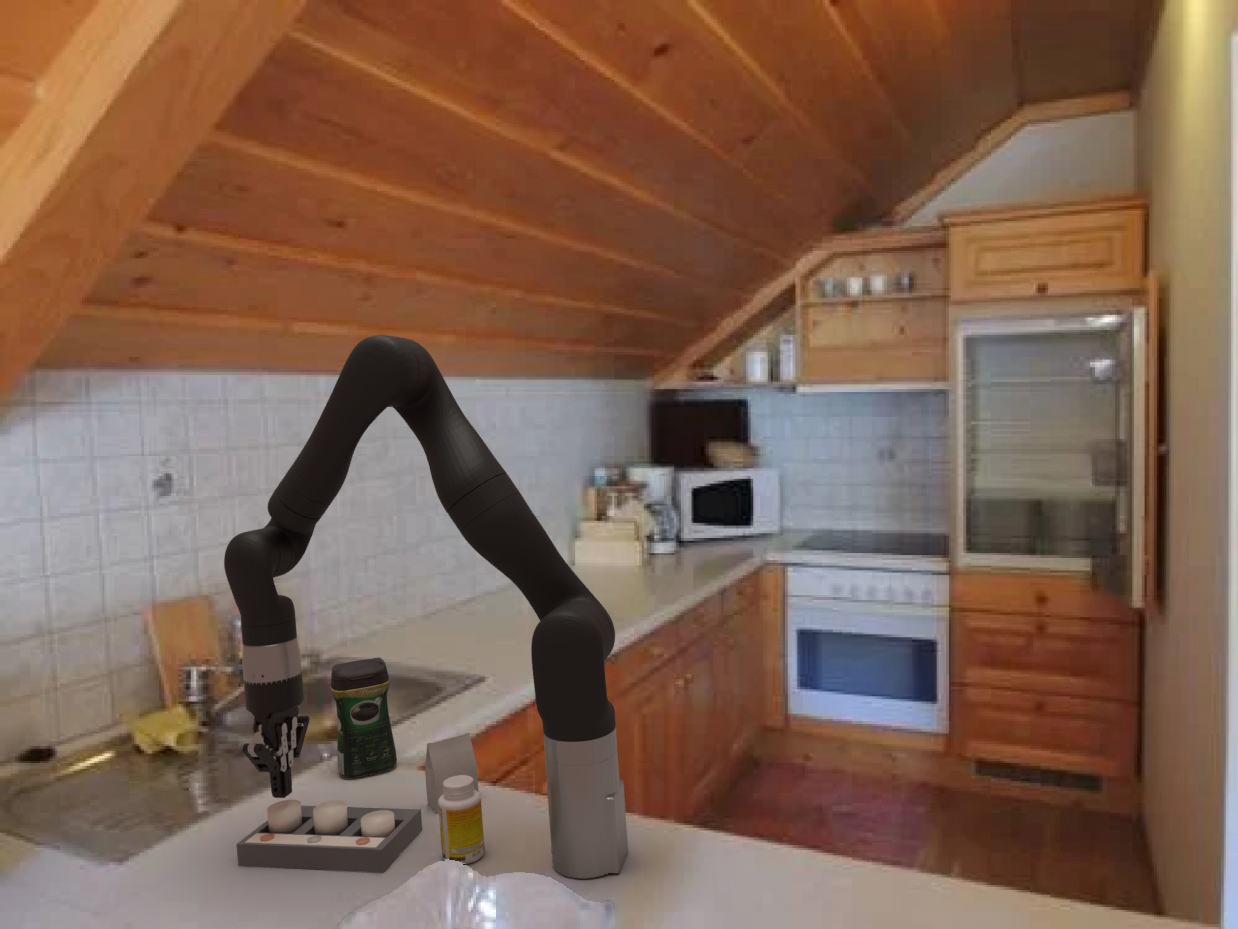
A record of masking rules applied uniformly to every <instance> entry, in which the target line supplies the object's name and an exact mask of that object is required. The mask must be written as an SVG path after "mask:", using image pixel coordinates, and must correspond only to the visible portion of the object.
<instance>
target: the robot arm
mask: <svg viewBox="0 0 1238 929" xmlns="http://www.w3.org/2000/svg"><path fill="white" fill-rule="evenodd" d="M387 408H393V409H394V410H395V411H396V412H397V413H398V414H399V416H400V417H401V418H402V419H403V421H404V422H405V423H406V425H407V426H408V427H409V429H410V430H411V431H412V432H413V434H414V436H415V437H416V439H417V440H418V441H419V443H420V445H421V447H422V449H423V451H424V454H425V457H426V460H427V463H428V467H429V471H430V475H431V480H432V483H433V486H434V490H435V492H436V495H437V497H438V500H439V502H440V503H441V505H442V507H443V508H444V511H445V512H446V514H447V515H448V516H449V518H450V519H451V521H452V523H453V524H454V525H455V527H456V528H457V530H458V531H459V532H460V534H461V536H462V537H463V538H464V540H465V541H466V542H467V544H469V546H470V548H473V550H475V552H477V553H478V554H479V555H480V556H481V557H482V558H483V559H484V560H485V561H487V563H489V564H490V565H492V566H493V567H494V568H495V569H497V570H498V571H499V572H500V573H502V575H504V576H505V577H506V578H507V579H508V580H510V581H511V583H513V584H514V586H516V587H517V588H518V590H519V591H520V592H521V593H522V595H524V597H525V599H526V600H527V601H528V603H529V605H530V607H531V608H532V609H533V611H534V614H535V615H536V616H537V618H538V620H539V622H538V623H537V625H536V626H535V628H534V630H533V633H532V637H531V647H530V650H531V652H530V653H531V668H532V678H533V685H534V686H533V688H534V696H535V705H536V709H537V712H538V716H540V719H541V721H542V722H541V723H542V731H543V744H544V748H543V749H544V762H545V777H546V790H547V804H548V817H549V818H548V820H549V833H550V834H549V835H550V846H551V847H550V850H551V852H550V853H551V858H552V867H553V869H554V870H555V871H556V872H557V873H558V874H561V875H562V876H564V877H568V878H573V879H593V878H599V877H603V876H605V874H606V875H609V874H608V873H614V874H615V873H618V874H619V873H620V872H619V871H621V870H622V867H623V864H624V862H625V860H624V859H626V857H627V855H626V854H628V852H629V846H628V829H627V818H626V817H627V814H626V801H625V799H626V798H625V784H624V780H623V779H620V771H619V770H620V769H619V758H618V745H617V744H618V741H617V740H618V739H617V725H616V724H617V723H616V712H615V711H616V710H615V706H614V705H613V704H612V702H610V701H609V698H608V691H607V682H606V668H605V661H606V660H607V659H608V657H609V656H610V655H611V654H612V652H613V649H614V646H615V642H616V630H615V626H614V622H613V620H612V618H611V615H610V614H609V612H608V611H607V610H606V608H605V607H604V605H603V604H602V602H600V601H599V600H598V599H597V597H596V596H595V595H594V594H593V592H591V590H590V589H589V588H588V587H587V586H586V584H585V583H584V582H583V581H582V580H581V578H580V577H579V576H578V575H577V574H576V573H575V572H574V570H572V568H571V567H570V566H569V564H568V563H567V561H565V559H564V558H563V556H562V555H561V553H560V552H559V550H558V549H557V547H556V545H555V544H554V542H553V541H552V539H551V538H550V536H549V535H548V533H547V532H546V530H545V528H544V527H543V525H542V523H541V522H540V521H539V519H538V517H536V515H535V513H534V512H533V510H531V508H530V506H529V504H528V503H527V501H526V500H525V498H524V496H523V495H522V493H521V492H520V490H519V489H518V487H517V486H516V485H515V483H514V481H513V480H512V479H511V477H510V475H509V474H507V472H506V470H505V469H504V467H503V466H502V464H500V462H499V461H498V460H497V458H496V457H495V456H494V454H493V453H492V451H491V449H490V448H489V447H488V445H487V444H486V443H485V441H484V440H483V438H482V437H481V436H480V434H479V433H478V432H477V430H476V429H475V427H474V426H473V425H472V424H471V422H470V421H469V420H468V418H467V417H466V416H465V414H464V412H463V411H462V409H461V407H460V406H459V404H458V402H457V400H456V399H455V397H454V395H453V393H452V391H451V390H450V388H449V386H448V384H447V381H446V380H445V379H444V377H443V375H442V372H441V371H440V369H439V367H438V365H437V363H436V361H435V360H434V358H433V357H432V356H431V354H430V353H429V351H428V350H427V349H426V348H425V347H424V346H422V345H421V344H420V343H418V342H417V341H415V340H413V339H411V338H410V339H409V338H406V337H400V336H395V335H394V336H393V335H388V334H387V335H386V334H374V335H371V336H367V337H364V339H362V340H360V341H359V342H358V343H357V344H356V345H355V346H354V347H353V349H352V350H351V352H350V354H349V355H348V358H346V361H345V363H344V365H343V368H341V371H340V373H339V376H338V377H337V380H336V383H335V384H334V387H333V389H332V391H331V393H330V396H329V398H328V400H327V401H326V404H325V406H324V408H323V410H322V412H321V414H320V416H319V418H318V421H317V423H315V426H314V428H313V431H312V432H311V433H310V436H309V437H308V439H307V441H306V443H305V444H304V446H303V448H302V450H301V451H300V453H299V454H298V456H297V457H296V458H295V459H294V462H293V463H292V465H291V466H290V467H289V469H288V470H287V472H286V473H285V475H284V476H283V478H282V479H281V481H280V482H279V483H278V485H277V486H276V488H275V489H274V491H273V492H272V494H271V496H269V497H270V498H269V500H268V502H267V511H268V512H267V513H268V515H269V516H270V517H271V518H270V520H269V521H268V523H267V524H266V525H265V526H264V527H263V528H259V529H253V530H247V531H243V532H241V533H238V534H236V535H235V536H233V537H232V539H231V540H230V541H229V542H228V543H227V546H226V549H225V552H224V556H223V557H224V558H223V559H224V560H223V565H224V573H225V576H226V580H227V582H228V585H229V588H230V590H231V593H232V597H233V600H234V601H235V602H234V603H235V605H236V607H237V609H238V612H239V615H240V626H241V627H240V629H241V639H242V640H241V642H242V656H241V658H242V659H241V662H242V663H241V664H242V666H241V667H242V676H243V677H242V678H243V688H244V703H245V709H246V711H248V712H249V713H251V715H253V725H252V731H253V732H252V733H253V737H252V739H251V741H250V743H244V744H243V745H242V752H243V754H244V755H245V756H246V757H247V758H248V760H249V761H250V762H251V763H252V765H253V766H254V768H255V769H257V771H258V772H260V773H268V774H269V778H270V792H271V795H272V797H273V798H275V799H285V798H286V797H287V796H290V794H292V793H293V779H292V767H293V766H294V761H295V760H294V759H295V758H297V759H298V758H300V756H301V752H302V750H303V744H304V741H305V738H306V735H307V732H308V727H309V723H310V716H309V715H302V714H300V710H299V706H300V705H301V704H302V703H303V702H304V698H305V696H304V686H303V685H304V684H303V670H302V660H301V658H302V657H301V651H300V645H299V641H298V633H297V631H298V630H297V619H296V609H295V605H294V601H293V600H292V598H290V597H289V596H286V595H281V594H279V593H278V591H277V587H276V584H275V581H274V578H278V577H281V576H284V575H286V574H288V573H289V572H291V571H292V570H293V569H294V568H295V567H296V566H297V565H298V564H299V562H300V561H301V560H302V558H303V557H304V556H305V553H306V551H307V549H308V546H309V544H310V541H311V539H312V537H313V534H314V532H315V527H316V525H317V523H318V522H319V521H320V519H322V517H323V516H324V514H325V513H326V512H327V510H328V508H329V507H330V505H331V504H332V503H333V501H334V500H335V499H336V497H337V496H338V494H339V492H340V491H341V489H342V487H343V485H344V484H345V480H346V479H347V476H348V473H349V469H350V467H351V464H352V459H353V457H354V454H355V451H356V448H357V446H358V444H359V442H360V440H361V438H363V436H364V434H365V432H366V431H367V430H368V428H369V427H370V426H371V425H372V423H373V422H374V421H375V420H376V419H377V418H378V417H379V416H380V415H382V413H384V411H386V409H387ZM615 875H616V874H615Z"/></svg>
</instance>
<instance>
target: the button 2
mask: <svg viewBox="0 0 1238 929" xmlns="http://www.w3.org/2000/svg"><path fill="white" fill-rule="evenodd" d="M394 830H395V819H394V813H393V812H392V811H389V810H378V811H373V812H370V813H368V814H366V815H364V816H363V817H362V818H361V831H362V836H364V837H388V836H389V835H390V834H391V833H392V832H393V831H394Z"/></svg>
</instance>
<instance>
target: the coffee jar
mask: <svg viewBox="0 0 1238 929" xmlns="http://www.w3.org/2000/svg"><path fill="white" fill-rule="evenodd" d="M330 676H331V678H330V693H331V695H332V698H333V700H334V702H335V708H336V718H337V723H336V724H337V741H336V742H337V747H336V748H337V749H336V751H337V754H336V755H337V759H336V760H337V770H338V773H339V774H340V776H342V777H344V778H348V779H354V778H355V779H356V778H361V777H366V775H367V776H371V775H370V774H372V775H375V773H376V774H379V773H382V772H386V771H389V770H391V769H393V767H395V766H396V764H397V762H398V759H397V750H396V744H395V739H394V734H393V730H392V724H391V719H390V714H389V712H390V711H389V706H388V691H389V688H390V685H391V684H390V683H391V682H390V676H389V672H388V669H387V664H386V662H385V660H384V659H383V658H381V657H372V658H367V659H360V660H353V661H349V662H343V663H338V664H333V666H332V667H331V675H330Z"/></svg>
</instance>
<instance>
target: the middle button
mask: <svg viewBox="0 0 1238 929" xmlns="http://www.w3.org/2000/svg"><path fill="white" fill-rule="evenodd" d="M315 806H316V807H315V808H314V809H313V817H314V829H315V834H316V835H336V834H339V833H342V832H343V831H345V830H346V829H347V828H348V816H347V807H348V806H347V803H346V802H345V801H342V800H332V801H326V802H323V803H321V804H319V805H315Z"/></svg>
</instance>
